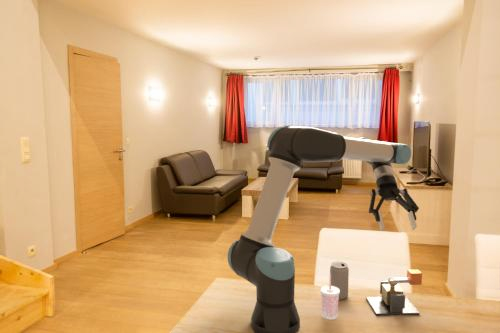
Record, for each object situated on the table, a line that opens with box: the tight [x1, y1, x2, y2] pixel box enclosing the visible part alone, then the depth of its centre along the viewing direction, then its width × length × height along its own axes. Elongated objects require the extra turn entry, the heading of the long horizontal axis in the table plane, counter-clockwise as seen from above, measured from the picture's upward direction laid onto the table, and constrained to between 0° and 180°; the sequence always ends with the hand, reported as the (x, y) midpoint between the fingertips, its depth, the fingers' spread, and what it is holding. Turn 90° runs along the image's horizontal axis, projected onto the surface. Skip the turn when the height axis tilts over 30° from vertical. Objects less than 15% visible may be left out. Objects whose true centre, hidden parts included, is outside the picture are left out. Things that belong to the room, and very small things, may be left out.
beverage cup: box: [320, 274, 340, 321], centre depth 124 cm, size 6×6×14 cm
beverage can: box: [329, 261, 350, 301], centre depth 137 cm, size 6×6×12 cm
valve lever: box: [387, 269, 423, 286], centre depth 128 cm, size 10×3×4 cm, turn 90°
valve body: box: [365, 280, 421, 317], centre depth 129 cm, size 14×11×8 cm
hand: (398, 228), depth 141 cm, fingers open, 11 cm apart
